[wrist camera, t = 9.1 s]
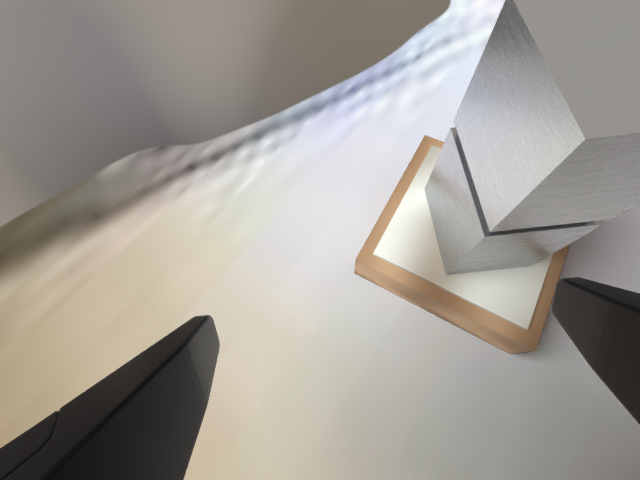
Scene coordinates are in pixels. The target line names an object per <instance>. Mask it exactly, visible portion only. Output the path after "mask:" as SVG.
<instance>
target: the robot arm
mask: <svg viewBox="0 0 640 480" xmlns="http://www.w3.org/2000/svg"><path fill="white" fill-rule="evenodd" d="M552 310H553V313H554V316H555V317H556V319H557V320H558V322H559V323H560V324H561V326H562V327H563V329H564V330H565V331H566V333H567V334H568V336H569V337H570V338H571V340H572V341H573V343H574V344H575V346H576V347H577V348H578V350H579V351H580V353H581V354H582V355H583V357H584V358H585V360H586V361H587V362H588V364H589V365H590V366H591V368H592V369H593V370H594V371H595V373H596V374H597V375H598V376H599V378H600V379H601V380H602V381H603V382H604V383H605V385H606V386H607V387H608V388H609V389H610V390H611V392H612V393H613V394H614V395H615V396H616V397H617V399H618V400H619V401H620V402H621V403H622V404H623V406H624V407H625V408H626V409H627V410H628V411H629V413H630V414H631V415H632V416H633V417H634V418H635V420H636V421H637V422H638V423H639V424H640V294H639V293H635V292H632V291H628V290H624V289H620V288H617V287H613V286H609V285H605V284H601V283H598V282H594V281H590V280H586V279H583V278H578V277H574V278H564V279H560V280H559V281H558V282H557V284H556V289H555V294H554V299H553V304H552ZM218 353H219V338H218V335H217V331H216V328H215V324H214V321H213V318H212V317H211V316H210V315H203V316H195V317H193V318H192V319H190V320H189V321H187V322H186V323H184V324H183V325H181V326H180V327H179V328H177V329H176V330H174V331H173V332H171V333H170V334H168V335H167V336H165V337H164V338H162V339H161V340H160V341H158V342H157V343H155V344H154V345H152V346H151V347H149V348H148V349H146V350H145V351H143V352H142V353H140V354H139V355H138V356H136V357H135V358H133V359H132V360H130V361H129V362H127V363H126V364H124V365H123V366H121V367H120V368H118V369H117V370H116V371H114V372H113V373H111V374H110V375H108V376H107V377H105V378H104V379H102V380H101V381H99V382H98V383H96V384H95V385H94V386H92V387H91V388H89V389H88V390H86V391H85V392H83V393H82V394H80V395H79V396H77V397H76V398H75V399H73V400H72V401H70V402H69V403H67V404H66V405H64V406H63V407H61V408H60V410H59V411H55V412H54V413H52V414H51V415H49V416H48V417H47V418H45V419H44V420H42V421H41V422H39V423H38V424H36V425H35V426H33V427H32V428H30V429H29V430H27V431H26V432H24V433H23V434H21V435H20V436H18V437H17V438H15V439H14V440H12V441H11V442H9V443H8V444H6V445H5V446H3V447H2V448H0V480H183V479H184V476H185V473H186V470H187V467H188V464H189V461H190V458H191V455H192V451H193V448H194V445H195V442H196V439H197V436H198V433H199V430H200V427H201V424H202V420H203V417H204V414H205V411H206V408H207V404H208V400H209V396H210V391H211V386H212V382H213V377H214V372H215V367H216V362H217V357H218Z"/></svg>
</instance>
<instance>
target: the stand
mask: <svg viewBox="0 0 640 480" xmlns="http://www.w3.org/2000/svg"><path fill="white" fill-rule="evenodd" d="M443 145H444V142H442V141H439V140H437V139H434V138H431V137H428V136H426V135H425V136H424V138H423V140H422V142H421V143H420V145H419V147H418V149H417V151H416V152H415V154H414V156H413V158H412V160H411V161H410V163H409V165H408V167H407V169H406V170H405V172H404V174H403V176H402V177H401V179H400V181H399V183H398V185H397V186H396V188H395V190H394V192H393V194H392V195H391V197H390V199H389V201H388V203H387V204H386V206H385V208H384V210H383V212H382V213H381V215H380V217H379V219H378V220H377V222H376V224H375V226H374V228H373V229H372V231H371V233H370V235H369V237H368V238H367V240H366V242H365V244H364V246H363V247H362V249H361V251H360V253H359V254H358V256H357V258H356V262H355V274H357V275H359V276H361V277H363V278H365V279H367V280H369V281H371V282H373V283H374V284H376V285H378V286H380V287H382V288H384V289H386V290H388V291H390V292H392V293H394V294H396V295H398V296H400V297H401V298H403V299H405V300H407V301H409V302H411V303H413V304H415V305H417V306H419V307H421V308H423V309H425V310H426V311H428V312H430V313H432V314H434V315H436V316H438V317H440V318H442V319H444V320H446V321H448V322H450V323H452V324H453V325H455V326H457V327H459V328H461V329H463V330H465V331H467V332H469V333H471V334H473V335H475V336H477V337H478V338H480V339H482V340H484V341H486V342H488V343H490V344H492V345H494V346H496V347H498V348H500V349H502V350H504V351H505V352H507V353H509V354H511V353H520V352H529V351H536V349H537V346H538V343H539V340H540V336H541V333H542V330H543V327H544V324H545V321H546V318H547V315H548V311H549V308H550V305H551V302H552V299H553V296H554V293H555V289H556V284H557V282H558V280H559V277H560V274H561V271H562V268H563V265H564V262H565V258H566V255H567V252H568V249H569V246H570V244H569V245H567V246H565V247H563V248H562V249H560V250H558V251H556V252H555V253H553V254H551V255H549V256H548V257H546V258H544V259H542V260H541V261H539V262H537V263H535V264H534V265H532V266H528V267H518V268H508V269H498V270H489V271H479V272H469V273H459V274H449V275H446V274H445V270H444V266H443V262H442V258H441V254H440V250H439V246H438V242H437V238H436V234H435V230H434V226H433V222H432V218H431V214H430V210H429V206H428V202H427V198H426V194H425V190H424V189H425V187H426V184H427V182H428V180H429V177H430V175H431V173H432V170H433V168H434V166H435V163H436V161H437V159H438V156H439V154H440V152H441V149H442V147H443Z"/></svg>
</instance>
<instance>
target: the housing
mask: <svg viewBox="0 0 640 480" xmlns="http://www.w3.org/2000/svg"><path fill="white" fill-rule="evenodd" d="M454 123H455V126H456V128H450V131H449V133H448V135H447V138H446V140H445V142H444V145H443V147H442V149H441V152H440V154H439V156H438V159H437V161H436V163H435V166H434V168H433V170H432V173H431V175H430V177H429V180H428V182H427V184H426V187H425V189H424V190H425V194H426V198H427V202H428V206H429V210H430V214H431V218H432V222H433V226H434V230H435V234H436V238H437V242H438V246H439V250H440V254H441V258H442V262H443V266H444V270H445V274H446V275H449V274H459V273H469V272H479V271H489V270H498V269H508V268H518V267H528V266H532V265H534V264H535V263H537V262H539V261H541V260H542V259H544V258H546V257H548V256H549V255H551V254H553V253H555V252H556V251H558V250H560V249H562V248H563V247H565V246H567V245H569V244H570V243H572V242H574V241H576V240H577V239H579V238H581V237H583V236H584V235H586V234H588V233H590V232H591V231H593V230H595V229H597V228H598V227H600V226H602V225H604V223H603V221H602V220H608V219H614V218H616V217H618V216H620V215H621V214H623V213H625V212H627V211H628V210H630V209H632V208H634V207H635V206H637V205H639V204H640V0H505V3H504V5H503V7H502V10H501V12H500V14H499V17H498V19H497V21H496V24H495V26H494V28H493V31H492V33H491V35H490V38H489V40H488V42H487V45H486V47H485V49H484V52H483V54H482V56H481V59H480V61H479V63H478V66H477V68H476V70H475V73H474V75H473V77H472V80H471V82H470V84H469V87H468V89H467V91H466V94H465V96H464V98H463V101H462V103H461V105H460V107H459V110H458V112H457V114H456V117H455V119H454Z"/></svg>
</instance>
